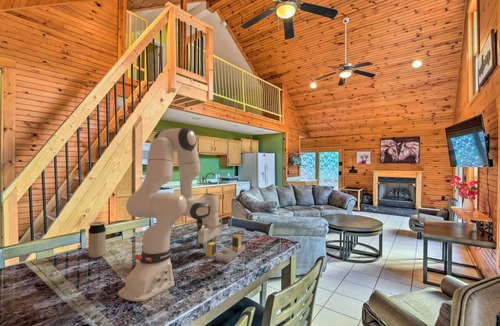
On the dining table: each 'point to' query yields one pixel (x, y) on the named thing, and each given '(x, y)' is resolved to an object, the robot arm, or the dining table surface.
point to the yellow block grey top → (211, 249)
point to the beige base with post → (231, 250)
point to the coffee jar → (199, 224)
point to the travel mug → (97, 239)
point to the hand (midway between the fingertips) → (210, 246)
